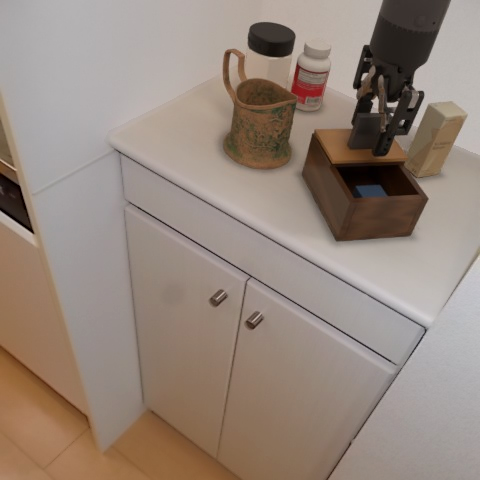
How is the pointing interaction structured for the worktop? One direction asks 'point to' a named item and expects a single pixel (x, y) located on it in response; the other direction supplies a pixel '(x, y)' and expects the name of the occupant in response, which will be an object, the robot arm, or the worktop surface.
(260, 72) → the jar
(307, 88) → the pill bottle
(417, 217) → the walnut box
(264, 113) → the brown green pitcher
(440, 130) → the box
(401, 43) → the robot arm
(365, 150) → the slide door
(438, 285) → the worktop surface
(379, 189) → the block
